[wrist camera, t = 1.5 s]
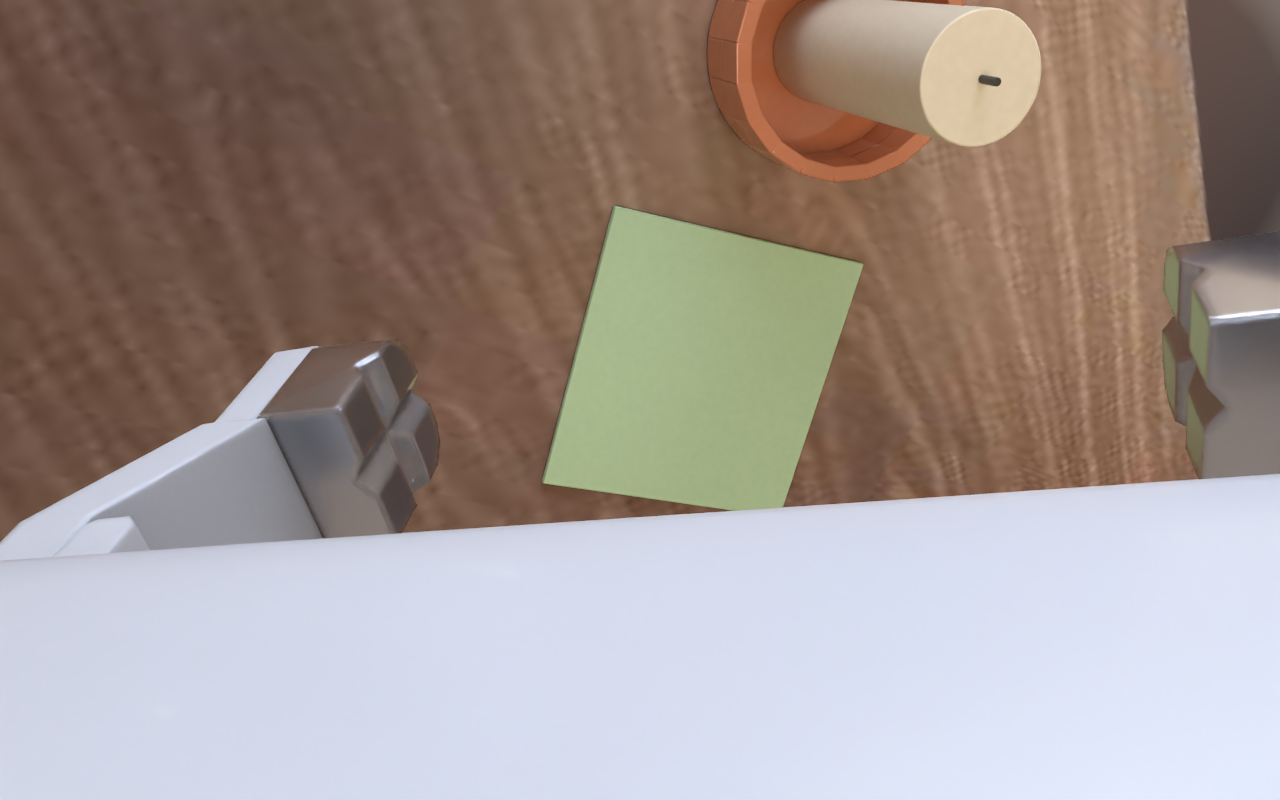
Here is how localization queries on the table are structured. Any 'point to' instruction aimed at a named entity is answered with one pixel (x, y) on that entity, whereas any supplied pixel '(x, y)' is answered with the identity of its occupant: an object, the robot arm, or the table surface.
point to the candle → (913, 65)
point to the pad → (698, 364)
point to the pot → (793, 102)
